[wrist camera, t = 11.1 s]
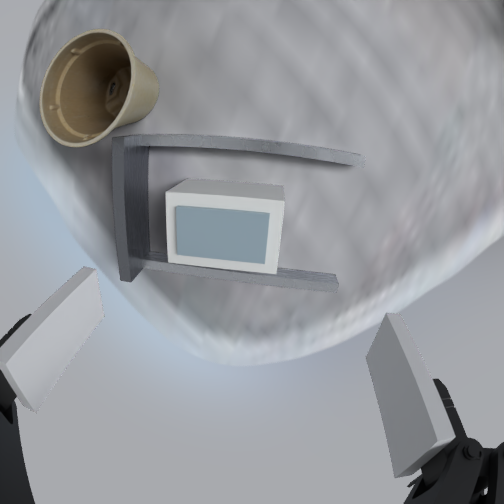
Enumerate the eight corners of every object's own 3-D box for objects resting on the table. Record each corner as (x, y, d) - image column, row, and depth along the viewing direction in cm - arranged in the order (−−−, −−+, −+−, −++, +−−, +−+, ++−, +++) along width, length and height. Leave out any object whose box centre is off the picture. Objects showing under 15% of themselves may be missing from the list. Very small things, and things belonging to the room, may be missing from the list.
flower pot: (176, 41, 21) (137, 12, 13) (178, 132, 25) (136, 136, 17) (95, 62, 22) (41, 51, 14) (97, 144, 25) (42, 156, 18)
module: (188, 178, 27) (163, 193, 21) (283, 185, 26) (285, 202, 20) (188, 236, 29) (166, 264, 23) (276, 244, 29) (276, 276, 23)
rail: (138, 134, 25) (112, 137, 20) (359, 154, 24) (376, 160, 19) (140, 258, 30) (120, 280, 26) (333, 282, 30) (341, 310, 25)
